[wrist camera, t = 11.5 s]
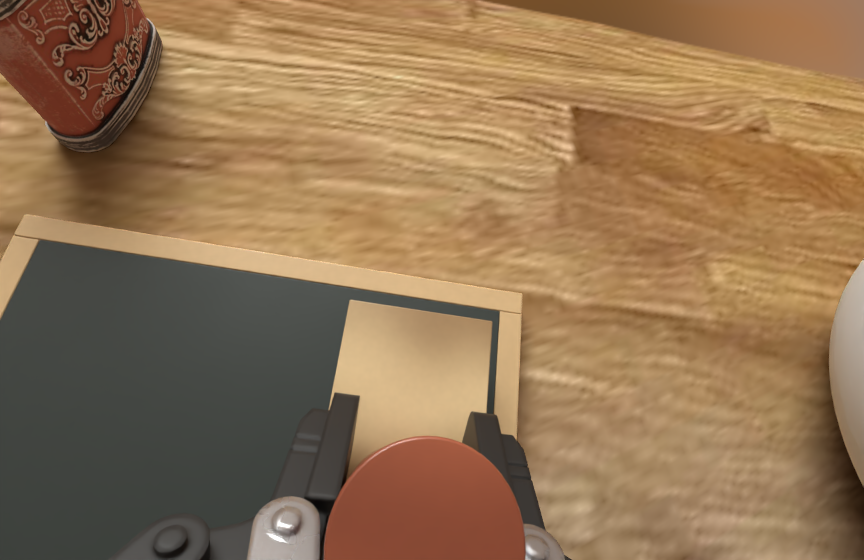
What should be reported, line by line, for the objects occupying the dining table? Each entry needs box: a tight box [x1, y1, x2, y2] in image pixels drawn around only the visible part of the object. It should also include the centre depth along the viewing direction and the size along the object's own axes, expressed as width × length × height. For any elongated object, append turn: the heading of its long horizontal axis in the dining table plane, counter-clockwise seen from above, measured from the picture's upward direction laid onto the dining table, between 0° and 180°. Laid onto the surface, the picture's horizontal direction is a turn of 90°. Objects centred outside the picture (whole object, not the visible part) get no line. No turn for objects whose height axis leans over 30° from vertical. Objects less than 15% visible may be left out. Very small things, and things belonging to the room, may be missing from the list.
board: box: [0, 214, 522, 560], centre depth 17 cm, size 21×17×1 cm
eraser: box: [324, 300, 526, 560], centre depth 12 cm, size 12×5×10 cm, turn 173°
